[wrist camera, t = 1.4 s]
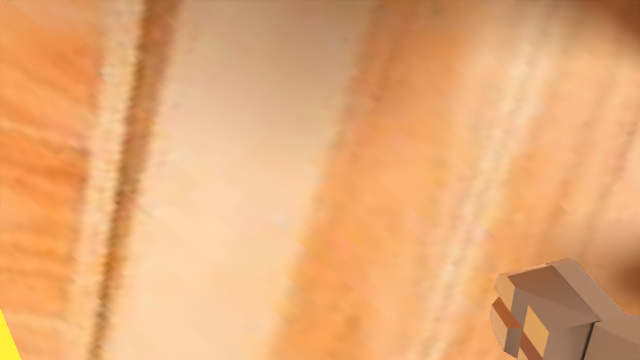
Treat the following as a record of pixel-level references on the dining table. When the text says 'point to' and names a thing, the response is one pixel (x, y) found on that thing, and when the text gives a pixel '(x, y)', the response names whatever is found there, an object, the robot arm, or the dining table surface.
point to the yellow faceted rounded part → (7, 342)
